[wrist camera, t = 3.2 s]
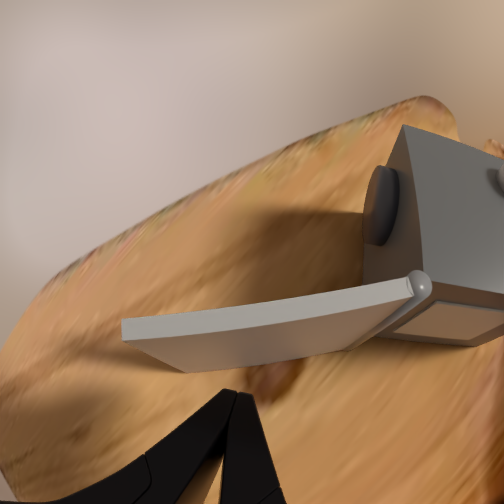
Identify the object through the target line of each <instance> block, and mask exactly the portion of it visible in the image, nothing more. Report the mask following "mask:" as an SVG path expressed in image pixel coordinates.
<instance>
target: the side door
mask: <svg viewBox="0 0 504 504" xmlns="http://www.w3.org/2000/svg"><path fill="white" fill-rule="evenodd" d="M431 291H432V283H431V280H430V278H429V277H428V275H427V274H426V273H424V272H423V271H420V270H414V271H411V272H410V273H409V274H408V275H407V276H406V277H404V278H399V279H394V280H389V281H384V282H379V283H374V284H369V285H364V286H358V287H353V288H347V289H342V290H336V291H331V292H325V293H319V294H313V295H307V296H301V297H295V298H288V299H282V300H275V301H269V302H262V303H255V304H248V305H241V306H233V307H226V308H218V309H210V310H202V311H194V312H185V313H176V314H167V315H158V316H148V317H137V318H127V319H122V341H123V342H125V343H127V344H129V345H131V346H133V347H135V348H137V349H138V350H140V351H142V352H144V353H146V354H148V355H150V356H152V357H154V358H156V359H158V360H160V361H162V362H164V363H166V364H168V365H170V366H173V367H175V368H177V369H179V370H181V371H183V372H185V373H196V372H206V371H216V370H225V369H233V368H241V367H248V366H255V365H262V364H269V363H275V362H281V361H287V360H293V359H298V358H304V357H309V356H314V355H319V354H324V353H329V352H334V351H338V350H345V351H351V350H353V349H354V348H356V347H357V346H359V345H360V344H362V343H364V342H365V341H367V340H368V339H370V338H371V337H373V336H374V335H376V334H377V333H379V332H380V331H382V330H383V329H384V328H386V327H387V326H389V325H390V324H392V323H393V322H394V321H396V320H397V319H399V318H400V317H402V316H403V315H404V314H406V313H407V312H408V311H410V310H411V309H412V308H414V307H415V306H416V305H418V304H419V303H420V302H422V301H423V300H424V299H426V298H427V297H428V296H429V295H430V294H431Z"/></svg>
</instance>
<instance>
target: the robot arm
mask: <svg viewBox="0 0 504 504" xmlns="http://www.w3.org/2000/svg"><path fill="white" fill-rule="evenodd" d="M223 456H224V457H223ZM222 459H223V464H222V473H221V482H220V491H219V501H218V504H287V503H286V501H285V498H284V495H283V492H282V489H281V487H280V483H279V480H278V477H277V474H276V470H275V467H274V464H273V461H272V457H271V454H270V451H269V448H268V444H267V441H266V438H265V434H264V431H263V428H262V424H261V421H260V418H259V414H258V411H257V407H256V404H255V400H254V397H253V395H252V394H249V393H244V392H239V393H237V391H234V390H230V389H222V390H221V391H220V392H219V393H218V394H216V395H215V396H214V397H213V398H212V399H211V400H209V401H208V402H207V403H206V404H205V405H204V406H202V407H201V408H200V409H199V410H198V411H196V412H195V413H194V414H193V415H192V416H190V417H189V418H188V419H187V420H185V421H184V422H183V423H182V424H181V425H179V426H178V427H177V428H176V429H174V430H173V431H172V432H171V433H169V434H168V435H167V436H166V437H164V438H163V439H162V440H160V441H159V442H158V443H157V444H155V445H154V446H153V447H151V448H150V449H149V450H147V451H146V452H145V455H144V454H142V455H141V456H139V457H138V458H137V459H135V460H134V461H132V462H131V463H130V464H128V465H127V466H125V467H124V468H122V469H121V470H119V471H117V472H116V473H114V474H112V475H110V476H108V477H106V478H105V479H103V480H101V481H99V482H97V483H95V484H93V485H91V486H88V487H86V488H84V489H82V490H80V491H78V492H76V493H73V494H71V495H69V496H67V497H64V498H61V499H58V500H54V501H49V502H13V501H0V504H203V503H204V501H205V498H206V496H207V494H208V492H209V490H210V487H211V485H212V483H213V481H214V478H215V476H216V474H217V471H218V469H219V467H220V464H221V462H222Z"/></svg>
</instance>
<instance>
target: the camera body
mask: <svg viewBox="0 0 504 504" xmlns="http://www.w3.org/2000/svg"><path fill="white" fill-rule="evenodd" d="M362 233H363V239H364V259H363V280H362V286H364V285H369V284H374V283H379V282H384V281H389V280H394V279H399V278H404V277H406V276H407V275H408V274H409V273H410V272H411V271H414V270H420V271H423V272H424V273H426V274H427V275H428V277H429V278H430V280H431V283H432V291H431V294H430V295H429V296H428V297H427V298H426V299H424V300H423V301H422V302H420V303H419V304H418V305H416V306H415V307H414V308H412V309H411V310H410V311H408V312H407V313H406V314H404V315H403V316H402V317H400V318H399V319H397V320H396V321H394V322H393V323H392V324H390V325H389V326H387V327H386V328H384V329H383V330H382V331H380V332H379V333H377V334H376V335H374V337H382V338H390V339H398V340H407V341H417V342H427V343H437V344H449V345H461V346H475V347H477V346H480V345H482V344H484V343H487V342H489V341H491V340H494V339H496V338H498V337H500V336H503V335H504V160H502V159H500V158H497V157H495V156H493V155H490V154H488V153H486V152H483V151H481V150H478V149H476V148H473V147H470V146H468V145H465V144H463V143H460V142H457V141H454V140H452V139H449V138H446V137H443V136H440V135H437V134H434V133H431V132H428V131H424V130H421V129H418V128H415V127H411V126H408V125H404V124H403V125H402V127H401V130H400V133H399V135H398V137H397V140H396V142H395V145H394V147H393V150H392V152H391V154H390V157H389V159H388V162H387V164H386V166H381V165H379V166H377V167H376V168H375V170H374V172H373V174H372V176H371V179H370V182H369V185H368V189H367V193H366V198H365V203H364V210H363V221H362Z"/></svg>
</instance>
